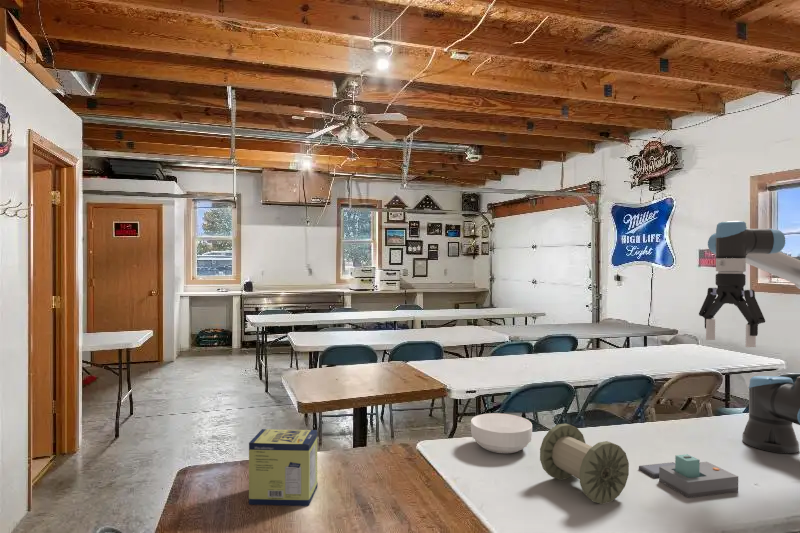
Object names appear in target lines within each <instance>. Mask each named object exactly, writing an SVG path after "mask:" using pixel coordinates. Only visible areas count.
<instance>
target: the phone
mask: <svg viewBox="0 0 800 533" xmlns="http://www.w3.org/2000/svg"><path fill="white" fill-rule="evenodd" d="M670 465H675V462H664V463H662V462H661V463H654V464H643V465H639V466H638V470H640V471H641V472H643V473H644V474H647V475H649V476H650V477H652V478H653V479H657V478H659V467H661V466H670Z"/></svg>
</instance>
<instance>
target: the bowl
mask: <svg viewBox="0 0 800 533" xmlns="http://www.w3.org/2000/svg"><path fill="white" fill-rule="evenodd" d="M470 432H471V433H470V434H471V437H472V438H473V439H474V441H475V442H476V443H477V444H478V445H479V446H480V447H481V448H483V449H484V450H486V451H489V452H493V453H497V454H513V453H517V452H520V451H521V450H523V449H525V448H526V447H527V446H528V445H529V444H530V443H531V442H532V438H533V424H532V422H531V421H530V420H529V419H527V418H525V417H522V416H519V415H515V414H508V413H499V412H497V413H496V412H494V413H493V412H492V413H491V412H490V413H483V414H478V415H475V416H473V417H472V418H471V420H470Z"/></svg>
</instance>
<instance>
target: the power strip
mask: <svg viewBox="0 0 800 533" xmlns="http://www.w3.org/2000/svg"><path fill="white" fill-rule="evenodd" d="M658 478H659V480H658V481H659V482H660V483H661V484H664V485H665V486H667V487H669V488H670V489H673V490H674V491H676V492H678V493H679V494H681V495H683V496H684V497H686V498H698V497H705V496H711V495H720V494H721V495H722V494H728V493H736V492H737V493H738V492H739V476H738V475H736V474H734V473H732V472H730V471H728V470H726V469H723V468H721V467H720V466H716V465H715V464H712V463H710V462H708V461H700V468H699V477H695V478H687V477H685V476H683V475H681V474H680V473H678V472H676V471H675V465H670V466H661V467H659V477H658Z"/></svg>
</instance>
